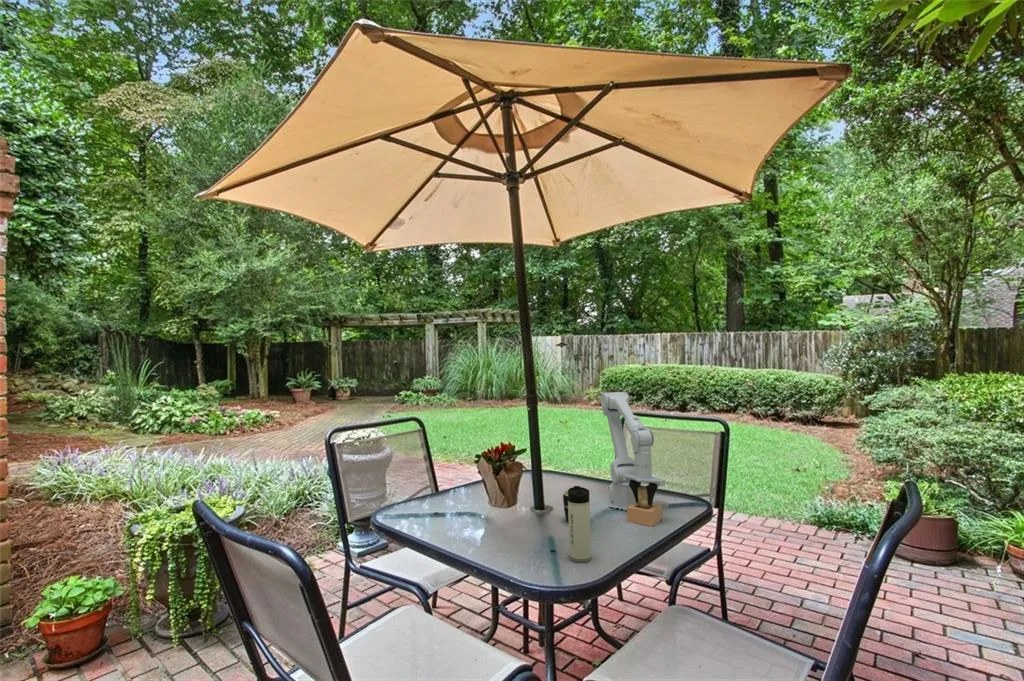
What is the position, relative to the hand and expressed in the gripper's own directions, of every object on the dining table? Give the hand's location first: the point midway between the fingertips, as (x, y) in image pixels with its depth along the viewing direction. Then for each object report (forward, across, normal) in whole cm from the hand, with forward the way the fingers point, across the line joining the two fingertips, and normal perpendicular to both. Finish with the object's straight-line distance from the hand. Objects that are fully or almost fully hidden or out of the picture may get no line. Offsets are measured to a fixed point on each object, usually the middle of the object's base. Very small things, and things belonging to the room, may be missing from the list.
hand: (644, 503), depth 172 cm
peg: (+2, 0, 0) cm, 2 cm away
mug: (+6, -18, -16) cm, 24 cm away
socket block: (+6, 0, 0) cm, 6 cm away
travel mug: (+6, -2, -40) cm, 40 cm away
